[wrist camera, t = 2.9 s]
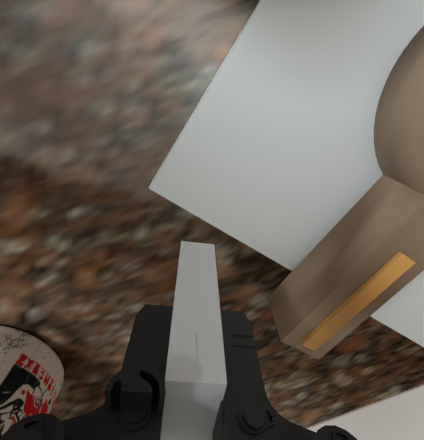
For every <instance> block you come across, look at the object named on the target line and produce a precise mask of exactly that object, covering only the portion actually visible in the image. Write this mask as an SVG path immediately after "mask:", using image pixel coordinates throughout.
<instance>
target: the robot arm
mask: <svg viewBox="0 0 424 440" xmlns="http://www.w3.org/2000/svg"><path fill="white" fill-rule="evenodd" d="M255 347H256V346H255V342H254V339H253V332H252V328H251V323H250V322H249V320H248V319H247V317H246V316H245V315H244V313H243V312H238V311H226V310H220V302H219V291H218V280H217V270H216V259H215V248H214V244H205V243H196V242H187V241H181V247H180V255H179V263H178V271H177V279H176V287H175V296H174V304H173V307H170V306H159V305H147V304H145V305H144V306H143V308H142V309H141V310H140V311H139V312H138V313H137V315H136V318H135V322H134V325H133V330H132V333H131V336H130V341H129V344H128V347H127V351H126V355H125V358H124V362H123V365H122V369H121V371H119V372H118V373H117V374H116V375H115V376H114V377H113V378H112V379H111V380H110V382H109V383H108V385H107V387H106V389H105V403H104V404H103V405H102V406H100V407H99V408H97V409H96V410H94V411H92V412H89V413H87V414H84V415H81V416H78V417H74V418H71V419H67V420H64V421H61V420H60V419H59V418H57V417H56V416H54V415H52V414H45V413H38V414H35V415H31V416H27V417H25V418H24V419H22V420H20V421H19V422H17V423H15V424H14V425H12V426H11V427H10V428H9V429H8V430H7V431H6V432H5V433H4V434H3V435H2V436H1V437H0V440H212V438H213V440H357V439H356V438H355V437H354V436H353V435H351V434H350V433H349V432H347V431H346V430H344V429H342V428H339V427H337V426H324V427H322V428H320V429H319V430H318V431H317V432H316V433H315V432H313V431H311V430H308V429H306V428H303V427H301V426H299V425H296V424H294V423H292V422H290V421H288V420H286V419H284V418H283V417H282V416H281V415H280V414H278V413H277V412H276V410H275V409H274V408H273V407H272V405H271V404H270V402H269V400H268V398H267V395H266V392H265V388H264V384H263V379H262V374H261V370H260V365H259V360H258V356H257V351H256V349H255Z"/></svg>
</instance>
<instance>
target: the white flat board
mask: <svg viewBox="0 0 424 440" xmlns="http://www.w3.org/2000/svg"><path fill="white" fill-rule="evenodd" d="M423 26H424V0H260V1H259V2H258V4H257V6H256V7H255V9H254V11H253V12H252V14H251V16H250V17H249V19H248V21H247V22H246V24H245V26H244V27H243V29H242V31H241V32H240V34H239V36H238V38H237V39H236V41H235V43H234V44H233V46H232V48H231V49H230V51H229V53H228V54H227V56H226V58H225V59H224V61H223V63H222V64H221V66H220V68H219V69H218V71H217V73H216V74H215V76H214V78H213V79H212V81H211V83H210V84H209V86H208V88H207V89H206V91H205V93H204V94H203V96H202V98H201V99H200V101H199V103H198V104H197V106H196V108H195V110H194V111H193V113H192V115H191V116H190V118H189V120H188V121H187V123H186V125H185V126H184V128H183V130H182V131H181V133H180V135H179V136H178V138H177V140H176V141H175V143H174V145H173V146H172V148H171V150H170V151H169V153H168V155H167V156H166V158H165V160H164V161H163V163H162V165H161V166H160V168H159V170H158V171H157V173H156V175H155V177H154V178H153V180H152V182H151V184H150V186H149V189H150V190H152V191H154V192H156V193H157V194H159V195H161V196H162V197H164V198H166V199H168V200H169V201H171V202H173V203H175V204H176V205H178V206H180V207H182V208H183V209H185V210H187V211H188V212H190V213H192V214H194V215H195V216H197V217H199V218H201V219H202V220H204V221H206V222H208V223H209V224H211V225H213V226H214V227H216V228H218V229H220V230H221V231H223V232H225V233H227V234H228V235H230V236H232V237H234V238H235V239H237V240H239V241H240V242H242V243H244V244H246V245H247V246H249V247H251V248H253V249H254V250H256V251H258V252H260V253H261V254H263V255H265V256H266V257H268V258H270V259H272V260H273V261H275V262H277V263H279V264H280V265H282V266H284V267H286V268H287V269H289V270H291V271H293V270H294V269H295V268H296V267H297V266H298V265H299V263H300V262H301V261H302V260H303V259H304V258H305V257H306V256H307V255H308V254H309V253H310V252H311V251H312V250H313V249H314V247H315V246H316V245H317V244H318V243H319V242H320V241H321V240H322V239H323V238H324V237H325V236H326V235H327V234H328V233H329V232H330V230H331V229H332V228H333V227H334V226H335V225H336V224H337V223H338V222H339V221H340V220H341V219H342V218H343V217H344V216H345V215H346V213H347V212H348V211H349V210H350V209H351V208H352V207H353V206H354V205H355V204H356V203H357V202H358V201H359V200H360V199H361V198H362V196H363V195H364V194H365V193H366V192H367V191H368V190H369V189H370V188H371V187H372V186H373V185H374V184H375V183H376V182H377V180H378V179H379V178H380V177H381V176H382V175H383V173H382V171H381V169H380V167H379V165H378V161H377V158H376V155H375V148H374V122H375V115H376V110H377V106H378V102H379V99H380V96H381V93H382V90H383V88H384V85H385V83H386V80H387V78H388V76H389V74H390V72H391V70H392V68H393V66H394V65H395V63H396V61H397V60H398V58H399V56H400V55H401V53H402V52H403V50H404V49H405V48H406V46H407V45H408V44H409V42H410V41H411V40H412V38H413V37H414V36H415V35H416V34H417V32H418V31H419V30H420V29H421V28H422V27H423ZM371 317H372V318H374V319H376V320H377V321H379V322H381V323H383V324H384V325H386V326H388V327H390V328H391V329H393V330H395V331H397V332H398V333H400V334H402V335H403V336H405V337H407V338H409V339H410V340H412V341H414V342H416V343H417V344H419V345H421V346H423V347H424V270H423V271H422V272H421V273H420V274H419V275H417V276H416V277H415V278H414V279H413V280H412V281H410V282H409V283H408V284H407V285H406V286H405V287H403V288H402V289H401V290H400V291H399V292H398V293H396V294H395V295H394V296H393V297H392V298H391V299H389V300H388V301H387V302H386V303H385V304H384V305H382V306H381V307H380V308H379V309H378V310H377V311H375V312H374V313H373V314H372V315H371Z"/></svg>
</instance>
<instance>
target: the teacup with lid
mask: <svg viewBox="0 0 424 440" xmlns="http://www.w3.org/2000/svg"><path fill="white" fill-rule="evenodd" d="M63 381H64V369H63V366H62V363H61V361H60V359H59V357H58V356H57V354H56V353H55V352H54V351H53V350H52V349H51V348H50V347H49V346H48V345H47V344H45V343H44V342H42V341H41V340H39V339H38V338H36V337H34V336H32V335H30V334H28V333H26V332H23V331H21V330H17V329H14V328H10V327H6V326H0V437H1V436H2V435H3V434H4V433H5V432H6V431H7V430H8V429H9V428H10V427H11V426H12V425H14V424H15V423H17V422H19V421H20V420H22V419H24V418H25V417H27V416H31V415H35V414H38V413H45V414H50V411H51V409H52V407H53V405H54V403H55V400H56V398H57V396H58V394H59V392H60V389H61V387H62V385H63Z"/></svg>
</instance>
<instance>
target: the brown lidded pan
mask: <svg viewBox="0 0 424 440" xmlns="http://www.w3.org/2000/svg"><path fill="white" fill-rule="evenodd" d="M374 148H375V155H376V158H377V161H378V165H379V167H380V169H381V171H382V173H383V175H382V176H381V177H380V178H379V179H378V180H377V182H376V183H375V184H374V185H373V186H372V187H371V188H370V189H369V190H368V191H367V192H366V193H365V194H364V195H363V196H362V198H361V199H360V200H359V201H358V202H357V203H356V204H355V205H354V206H353V207H352V208H351V209H350V210H349V211H348V212H347V213H346V215H345V216H344V217H343V218H342V219H341V220H340V221H339V222H338V223H337V224H336V225H335V226H334V227H333V228H332V229H331V230H330V232H329V233H328V234H327V235H326V236H325V237H324V238H323V239H322V240H321V241H320V242H319V243H318V244H317V245H316V246H315V247H314V249H313V250H312V251H311V252H310V253H309V254H308V255H307V256H306V257H305V258H304V259H303V260H302V261H301V262H300V263H299V265H298V266H297V267H296V268H295V269H294V270H293V271H292V272H291V273H290V274H289V275H288V276H287V277H286V278H285V279H284V280H283V282H282V283H281V284H280V285H279V286H278V287H277V288H276V289H275V290H274V291H273V292H272V293H271V294H270V295H269V296H268V297H267V300H268V303H269V306H270V309H271V312H272V315H273V318H274V322H275V325H276V328H277V331H278V334H279V337H280V340H281V342H283V343H285V344H287V345H289V346H291V347H294V348H296V349H298V350H300V351H302V352H304V353H306V354H308V355H310V356H312V357H314V358H317V359H320V358H322V357H323V356H324V355H325V354H326V353H327V352H329V351H330V350H331V349H332V348H333V347H334V346H336V345H337V344H338V343H339V342H340V341H341V340H343V339H344V338H345V337H346V336H347V335H348V334H350V333H351V332H352V331H353V330H354V329H355V328H357V327H358V326H359V325H360V324H361V323H362V322H364V321H365V320H366V319H367V318H368V317H369V316H371V315H372V314H373V313H374V312H375V311H377V310H378V309H379V308H380V307H381V306H382V305H384V304H385V303H386V302H387V301H388V300H389V299H391V298H392V297H393V296H394V295H395V294H396V293H398V292H399V291H400V290H401V289H402V288H403V287H405V286H406V285H407V284H408V283H409V282H410V281H412V280H413V279H414V278H415V277H416V276H417V275H419V274H420V273H421V272H422V271H423V270H424V26H423V27H422V28H421V29H420V30H419V31H418V32H417V34H416V35H415V36H414V37H413V38H412V40H411V41H410V42H409V44H408V45H407V46H406V48H405V49H404V50H403V52H402V53H401V55H400V56H399V58H398V60H397V61H396V63H395V65H394V66H393V68H392V70H391V72H390V74H389V76H388V78H387V80H386V83H385V85H384V88H383V90H382V93H381V96H380V99H379V102H378V106H377V110H376V115H375V122H374Z"/></svg>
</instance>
